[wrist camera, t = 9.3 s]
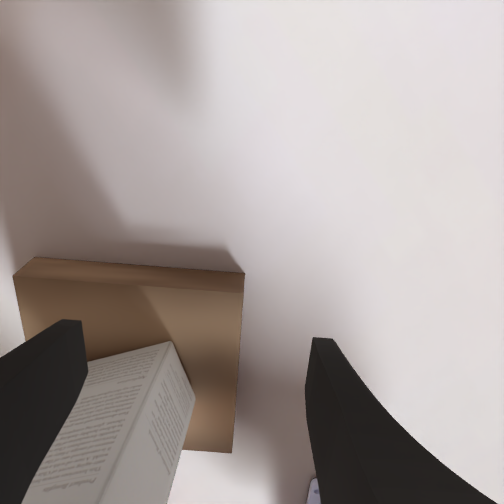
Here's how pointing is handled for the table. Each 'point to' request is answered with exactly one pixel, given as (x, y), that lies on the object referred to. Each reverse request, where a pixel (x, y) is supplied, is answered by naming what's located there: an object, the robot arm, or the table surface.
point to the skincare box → (120, 433)
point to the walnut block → (149, 325)
